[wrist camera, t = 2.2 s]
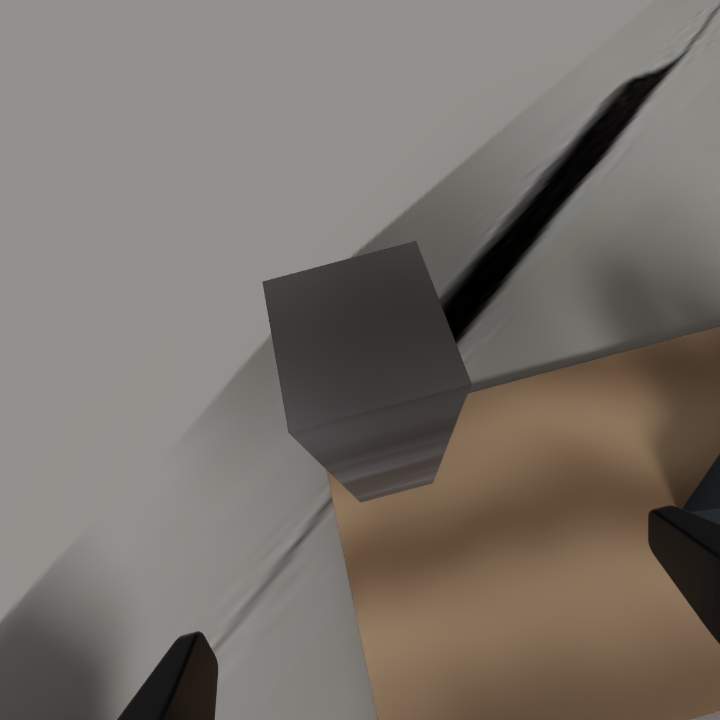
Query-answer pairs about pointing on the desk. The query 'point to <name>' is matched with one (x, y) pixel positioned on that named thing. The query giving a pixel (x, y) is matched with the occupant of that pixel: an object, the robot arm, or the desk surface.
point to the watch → (707, 495)
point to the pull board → (500, 504)
